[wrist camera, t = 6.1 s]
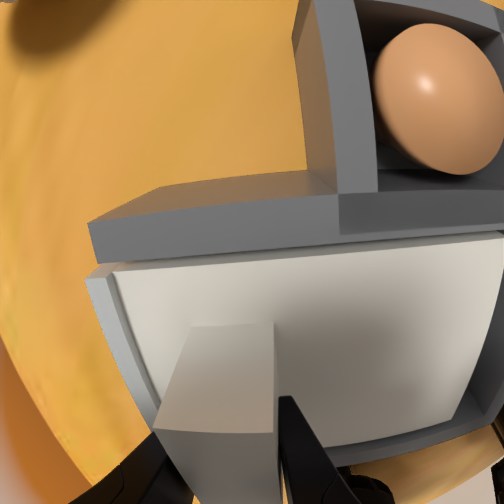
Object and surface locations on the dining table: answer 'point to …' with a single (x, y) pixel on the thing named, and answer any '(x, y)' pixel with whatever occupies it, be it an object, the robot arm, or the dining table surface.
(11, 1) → the showerhead
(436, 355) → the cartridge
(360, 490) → the black tall rounded body
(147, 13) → the dining table surface
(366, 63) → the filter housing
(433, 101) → the tan rounded piece
